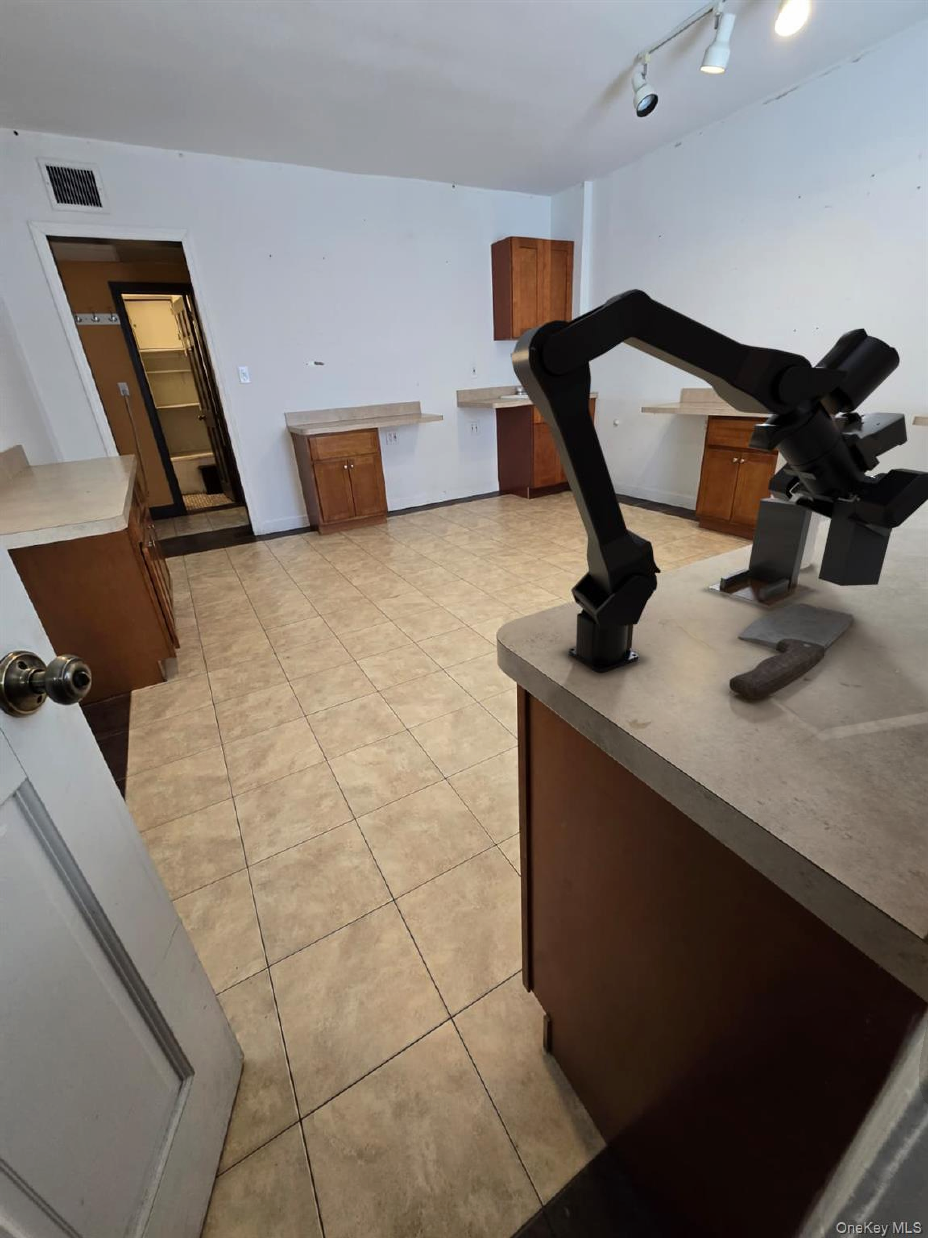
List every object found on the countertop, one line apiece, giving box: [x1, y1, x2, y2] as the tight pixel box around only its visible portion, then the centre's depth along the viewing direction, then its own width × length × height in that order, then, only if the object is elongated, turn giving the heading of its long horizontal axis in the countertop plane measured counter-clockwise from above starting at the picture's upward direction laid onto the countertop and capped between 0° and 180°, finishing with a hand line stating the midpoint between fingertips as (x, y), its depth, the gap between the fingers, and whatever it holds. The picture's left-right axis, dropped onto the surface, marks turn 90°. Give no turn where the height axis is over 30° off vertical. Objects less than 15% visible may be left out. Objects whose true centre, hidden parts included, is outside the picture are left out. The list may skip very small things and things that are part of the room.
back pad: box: [818, 499, 892, 587], centre depth 65 cm, size 5×4×13 cm
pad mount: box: [708, 497, 812, 607], centre depth 79 cm, size 11×10×14 cm
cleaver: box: [728, 602, 854, 699], centre depth 65 cm, size 29×10×2 cm, turn 133°
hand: (871, 529), depth 65 cm, fingers closed on back pad, 4 cm apart
